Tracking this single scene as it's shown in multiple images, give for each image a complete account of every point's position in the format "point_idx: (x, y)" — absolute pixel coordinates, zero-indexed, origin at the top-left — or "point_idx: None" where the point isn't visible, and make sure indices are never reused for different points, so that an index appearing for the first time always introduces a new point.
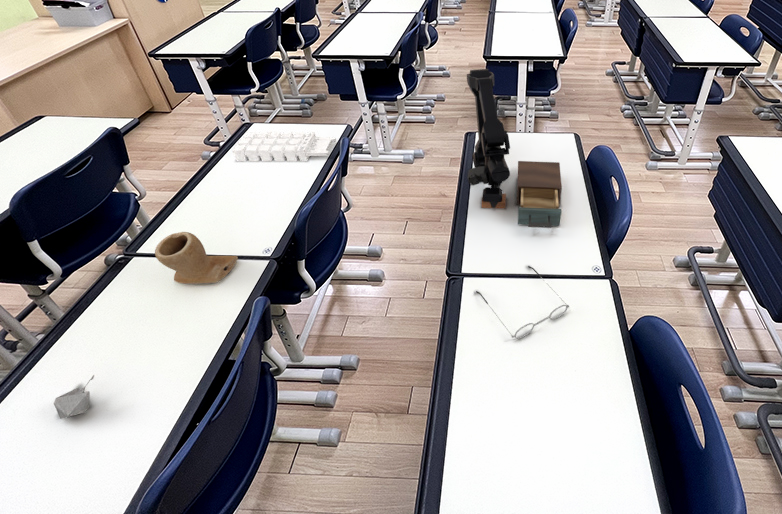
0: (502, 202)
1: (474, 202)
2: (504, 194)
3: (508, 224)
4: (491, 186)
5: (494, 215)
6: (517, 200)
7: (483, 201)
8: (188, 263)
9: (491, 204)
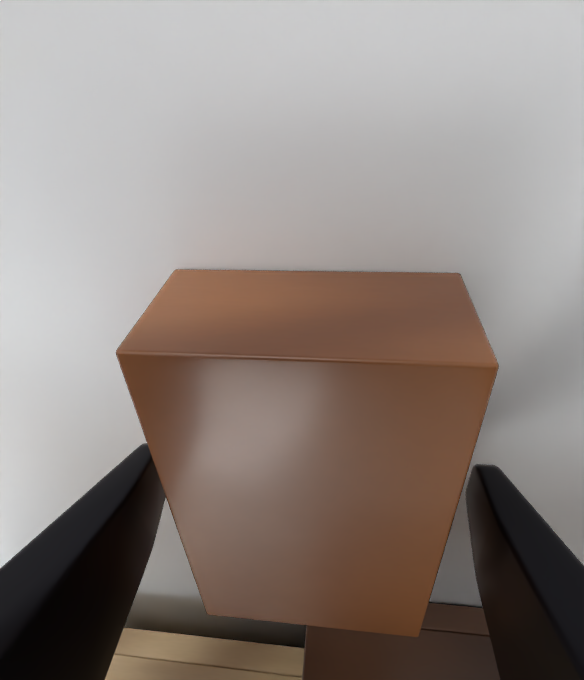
0: (207, 597)
1: (322, 96)
2: (400, 625)
3: (5, 524)
4: (573, 674)
5: (74, 429)
6: (303, 664)
7: (152, 386)
8: None
9: (74, 518)
